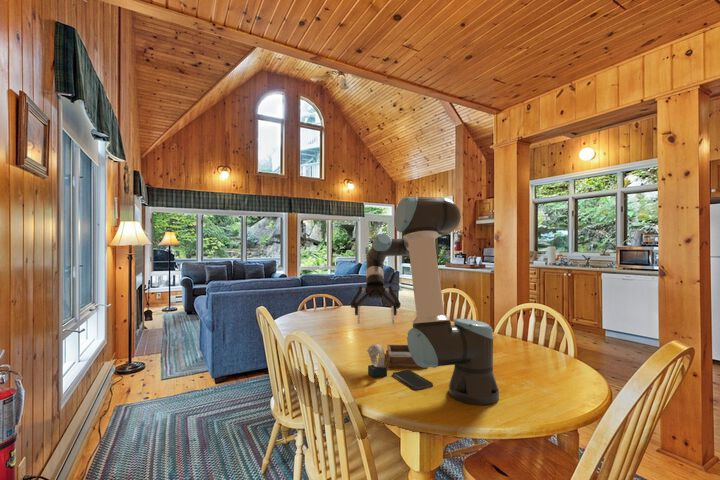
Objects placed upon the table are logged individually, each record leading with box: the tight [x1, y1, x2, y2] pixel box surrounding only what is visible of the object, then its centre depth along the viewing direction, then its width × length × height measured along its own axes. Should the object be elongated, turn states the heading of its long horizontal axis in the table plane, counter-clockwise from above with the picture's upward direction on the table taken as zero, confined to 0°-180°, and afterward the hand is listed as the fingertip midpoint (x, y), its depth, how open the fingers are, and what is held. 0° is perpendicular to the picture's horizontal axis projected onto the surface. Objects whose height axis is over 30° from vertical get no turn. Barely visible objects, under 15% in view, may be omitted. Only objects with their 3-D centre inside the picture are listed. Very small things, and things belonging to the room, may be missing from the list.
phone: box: [392, 369, 434, 391], centre depth 125 cm, size 8×1×15 cm
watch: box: [366, 343, 388, 379], centre depth 130 cm, size 6×8×11 cm
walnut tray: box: [385, 344, 424, 369], centre depth 146 cm, size 17×15×4 cm
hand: (375, 322), depth 141 cm, fingers open, 13 cm apart
